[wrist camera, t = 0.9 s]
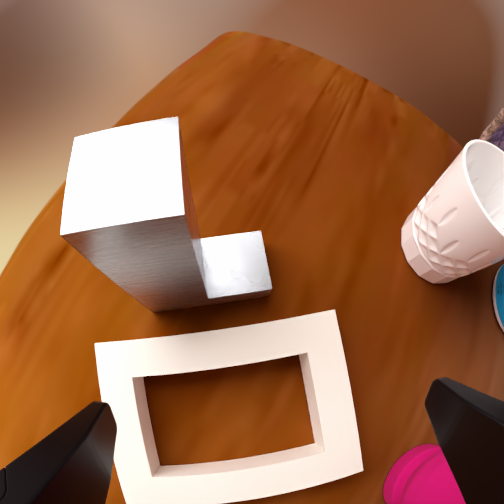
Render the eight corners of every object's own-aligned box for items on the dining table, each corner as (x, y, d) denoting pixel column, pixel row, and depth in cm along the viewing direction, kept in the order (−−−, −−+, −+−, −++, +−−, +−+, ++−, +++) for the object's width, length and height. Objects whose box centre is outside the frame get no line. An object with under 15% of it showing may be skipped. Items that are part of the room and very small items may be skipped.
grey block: (268, 296, 21) (319, 198, 9) (152, 312, 20) (60, 235, 8) (258, 242, 23) (288, 107, 11) (148, 257, 22) (74, 137, 10)
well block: (349, 461, 17) (363, 470, 15) (137, 493, 15) (127, 505, 13) (323, 315, 21) (334, 309, 19) (108, 346, 19) (94, 343, 17)
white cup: (452, 210, 25) (516, 151, 16) (470, 289, 23) (551, 248, 13) (386, 202, 25) (446, 128, 16) (401, 293, 22) (487, 244, 13)
